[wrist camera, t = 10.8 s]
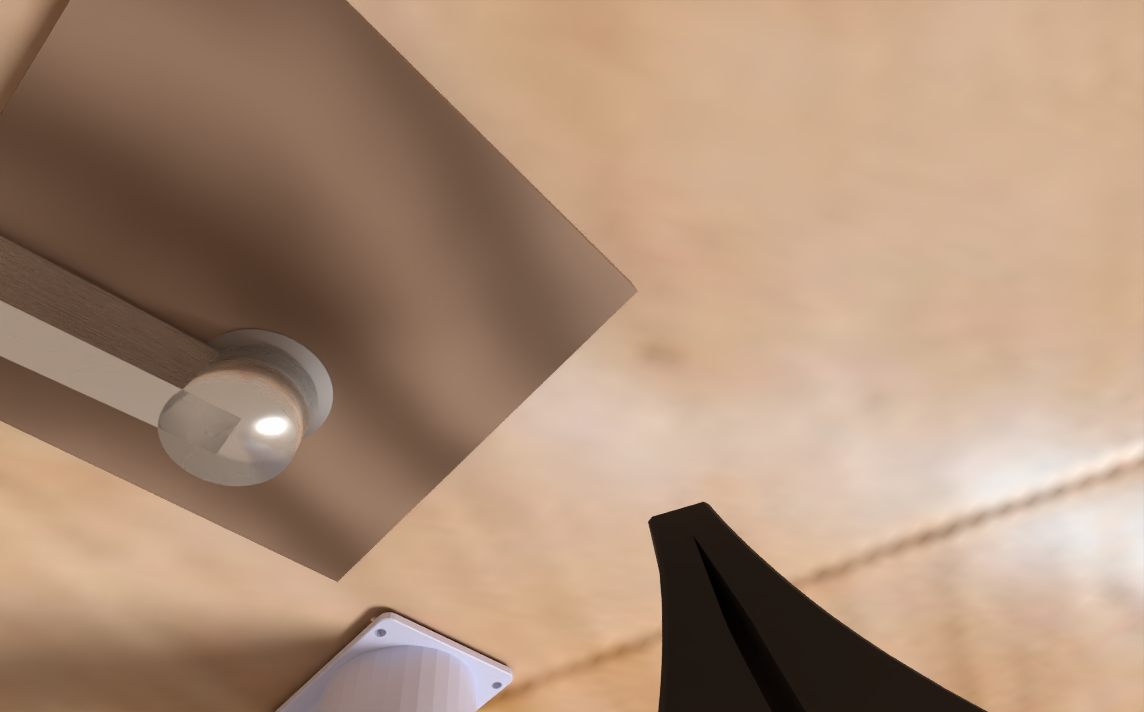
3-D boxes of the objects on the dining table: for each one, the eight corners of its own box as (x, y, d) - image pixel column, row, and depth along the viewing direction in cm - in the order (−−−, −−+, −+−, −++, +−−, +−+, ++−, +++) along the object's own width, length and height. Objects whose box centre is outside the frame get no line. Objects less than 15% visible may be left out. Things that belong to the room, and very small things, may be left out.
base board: (342, 563, 23) (322, 631, 20) (-119, 333, 17) (-248, 386, 14) (630, 281, 19) (657, 315, 17) (185, -159, 13) (98, -232, 10)
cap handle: (338, 383, 18) (319, 423, 16) (283, 457, 19) (259, 504, 17) (-100, 141, 13) (-209, 150, 11) (-145, 253, 14) (-254, 281, 12)
